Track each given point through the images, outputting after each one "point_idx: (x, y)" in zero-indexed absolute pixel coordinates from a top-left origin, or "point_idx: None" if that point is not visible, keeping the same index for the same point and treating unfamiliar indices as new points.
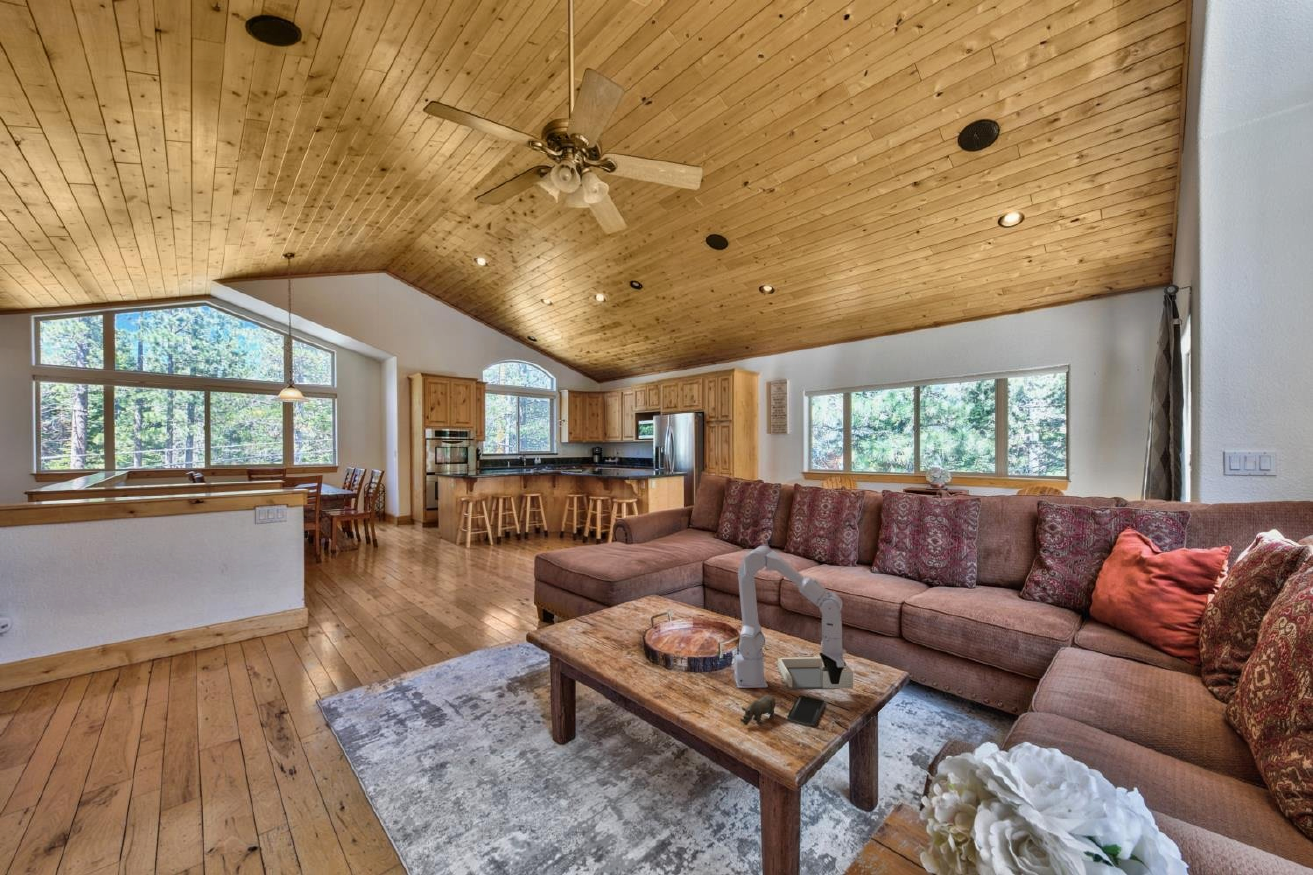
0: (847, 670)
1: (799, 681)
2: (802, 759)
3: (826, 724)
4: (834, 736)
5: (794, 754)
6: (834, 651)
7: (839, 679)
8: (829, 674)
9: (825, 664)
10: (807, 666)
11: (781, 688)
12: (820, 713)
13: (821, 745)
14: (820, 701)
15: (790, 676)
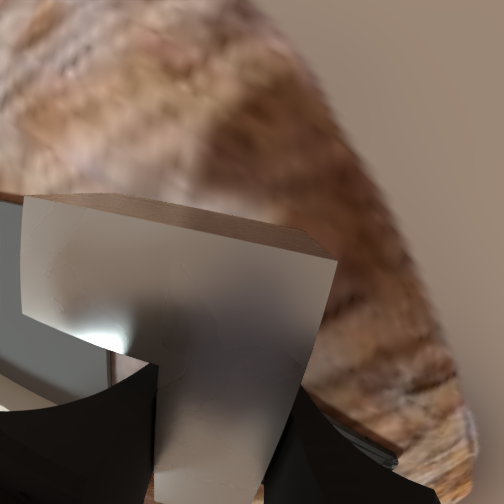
0: (281, 321)
1: (61, 375)
2: (462, 483)
3: (406, 424)
4: (460, 418)
5: (443, 493)
6: None
7: (307, 394)
8: (267, 476)
9: (144, 489)
10: None
11: None
12: (344, 427)
13: (461, 452)
14: None
15: None
